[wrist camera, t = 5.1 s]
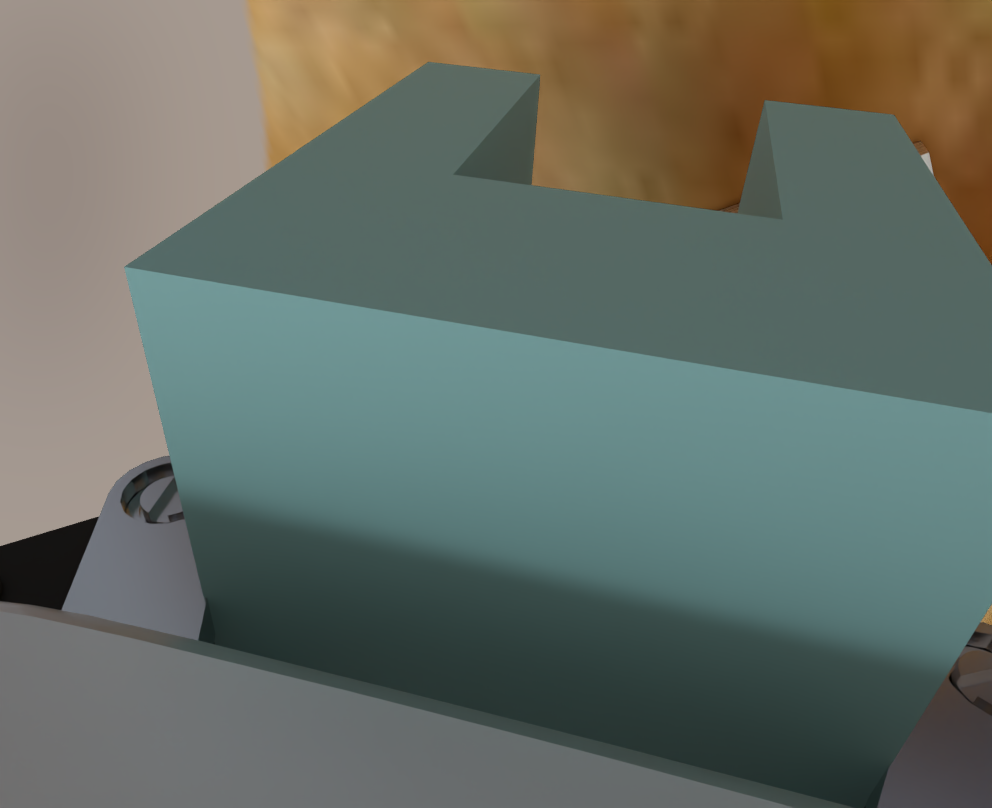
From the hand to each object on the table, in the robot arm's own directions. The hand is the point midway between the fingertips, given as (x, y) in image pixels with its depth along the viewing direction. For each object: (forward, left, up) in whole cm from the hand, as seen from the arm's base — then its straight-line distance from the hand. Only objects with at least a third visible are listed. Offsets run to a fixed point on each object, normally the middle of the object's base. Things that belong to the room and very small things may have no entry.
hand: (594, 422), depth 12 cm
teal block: (0, 0, -1) cm, 1 cm away
